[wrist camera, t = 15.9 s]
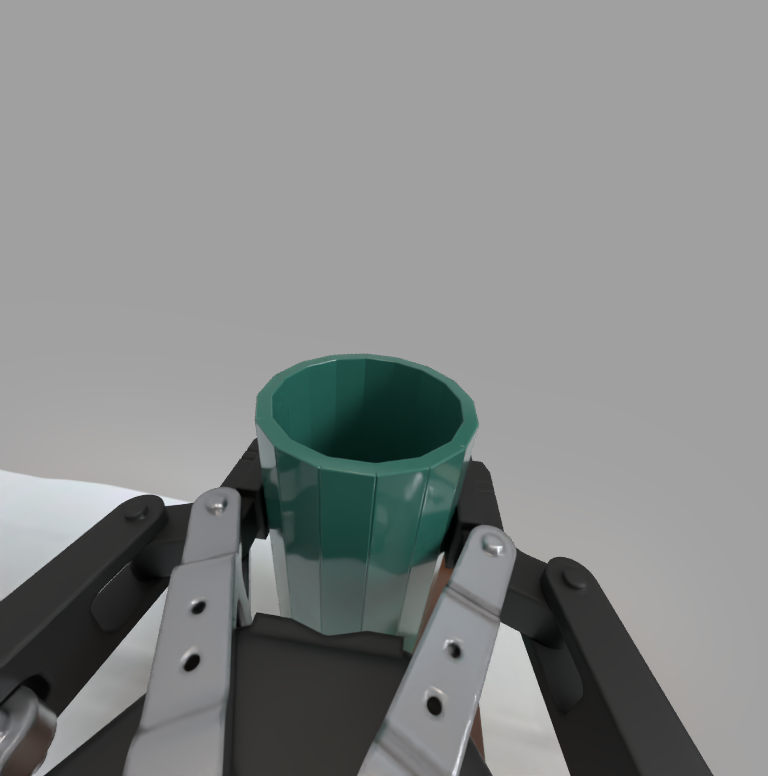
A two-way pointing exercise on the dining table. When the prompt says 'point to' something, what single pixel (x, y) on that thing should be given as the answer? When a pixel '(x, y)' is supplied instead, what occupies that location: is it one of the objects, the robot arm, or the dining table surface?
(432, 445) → the tumbler
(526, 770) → the dining table surface
